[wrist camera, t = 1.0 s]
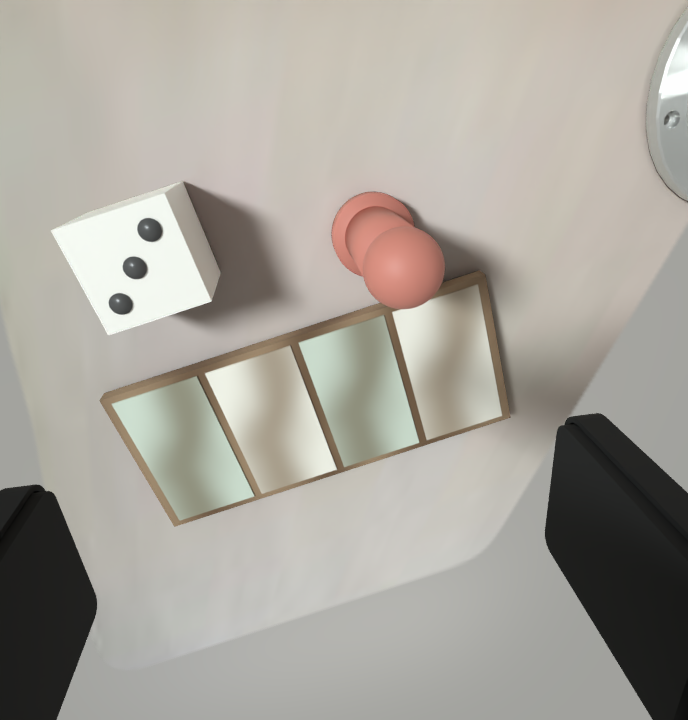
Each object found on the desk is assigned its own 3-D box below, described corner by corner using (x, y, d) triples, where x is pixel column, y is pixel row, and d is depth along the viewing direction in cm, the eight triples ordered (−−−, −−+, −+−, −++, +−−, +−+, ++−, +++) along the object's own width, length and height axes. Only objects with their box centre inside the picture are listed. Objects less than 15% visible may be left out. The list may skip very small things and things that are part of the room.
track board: (479, 270, 30) (486, 274, 29) (504, 410, 34) (511, 418, 33) (104, 393, 30) (99, 401, 29) (176, 517, 34) (174, 527, 34)
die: (182, 181, 26) (164, 193, 21) (220, 272, 28) (211, 301, 24) (88, 211, 26) (50, 230, 21) (134, 301, 28) (108, 335, 24)
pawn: (400, 180, 27) (457, 205, 19) (418, 258, 29) (477, 312, 21) (321, 206, 27) (343, 243, 19) (344, 283, 29) (374, 346, 21)
